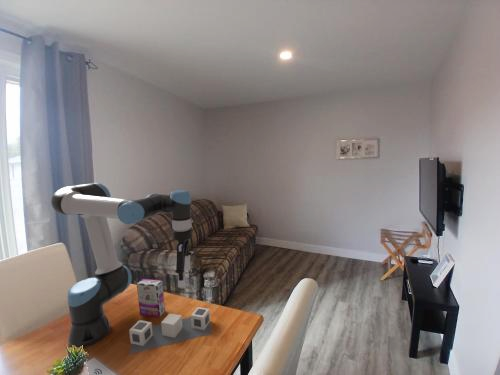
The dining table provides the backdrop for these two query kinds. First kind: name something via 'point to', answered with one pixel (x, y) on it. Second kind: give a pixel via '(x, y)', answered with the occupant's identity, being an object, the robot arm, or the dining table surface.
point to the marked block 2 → (200, 318)
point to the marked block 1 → (141, 332)
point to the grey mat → (162, 340)
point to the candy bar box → (151, 297)
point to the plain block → (171, 325)
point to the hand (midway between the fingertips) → (184, 277)
